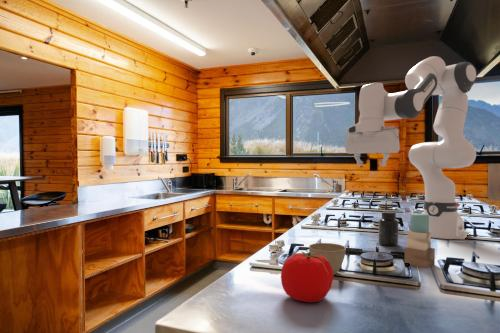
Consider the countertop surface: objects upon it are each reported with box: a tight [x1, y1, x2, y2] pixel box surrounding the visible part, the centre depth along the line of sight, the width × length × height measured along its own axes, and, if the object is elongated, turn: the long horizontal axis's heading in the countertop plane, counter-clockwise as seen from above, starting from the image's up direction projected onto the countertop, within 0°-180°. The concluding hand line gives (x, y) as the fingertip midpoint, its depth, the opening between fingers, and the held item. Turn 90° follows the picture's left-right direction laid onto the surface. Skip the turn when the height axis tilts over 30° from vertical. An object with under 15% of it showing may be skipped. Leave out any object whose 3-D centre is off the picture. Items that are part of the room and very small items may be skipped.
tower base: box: [404, 246, 436, 269], centre depth 105 cm, size 6×6×5 cm
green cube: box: [409, 212, 429, 233], centre depth 105 cm, size 5×5×5 cm
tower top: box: [406, 230, 432, 251], centre depth 105 cm, size 5×5×5 cm
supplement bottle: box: [378, 211, 400, 247], centre depth 130 cm, size 7×7×12 cm
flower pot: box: [308, 242, 347, 276], centre depth 97 cm, size 10×10×7 cm
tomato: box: [280, 250, 334, 303], centre depth 79 cm, size 12×12×10 cm
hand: (371, 165), depth 127 cm, fingers open, 8 cm apart
